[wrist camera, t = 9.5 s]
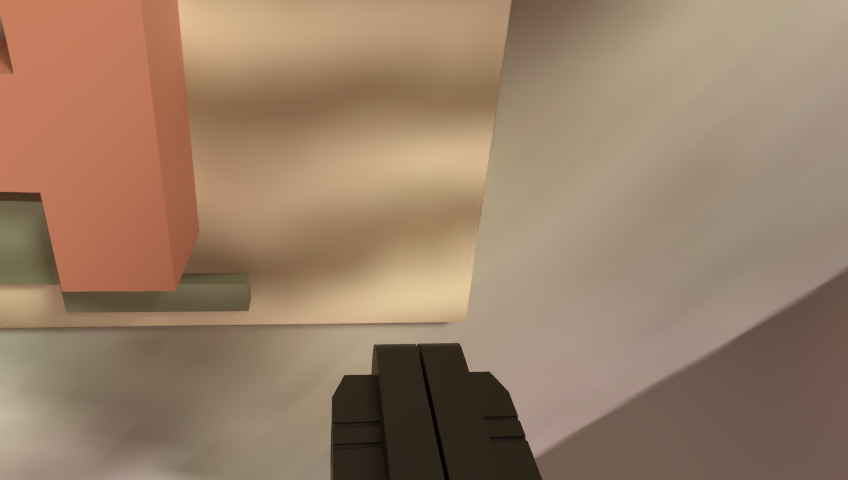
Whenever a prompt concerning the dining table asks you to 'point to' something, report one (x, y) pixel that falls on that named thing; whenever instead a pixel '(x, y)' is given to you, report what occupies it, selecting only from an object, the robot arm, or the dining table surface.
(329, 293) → the board
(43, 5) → the t block
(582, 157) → the dining table surface
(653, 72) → the dining table surface
